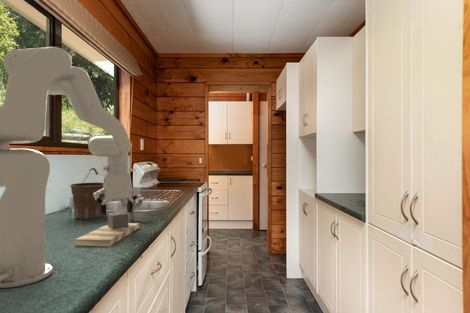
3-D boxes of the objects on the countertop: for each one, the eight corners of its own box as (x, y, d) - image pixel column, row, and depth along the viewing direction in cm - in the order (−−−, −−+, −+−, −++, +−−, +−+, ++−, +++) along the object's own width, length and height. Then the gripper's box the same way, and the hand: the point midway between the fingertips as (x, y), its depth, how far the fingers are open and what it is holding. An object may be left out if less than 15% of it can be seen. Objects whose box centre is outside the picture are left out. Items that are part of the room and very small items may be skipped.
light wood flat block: (109, 246, 96) (109, 229, 96) (74, 245, 97) (74, 228, 97) (139, 228, 120) (139, 214, 120) (111, 227, 121) (111, 214, 121)
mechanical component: (140, 221, 131) (140, 199, 131) (119, 220, 133) (119, 199, 133) (143, 220, 134) (143, 198, 134) (123, 219, 136) (123, 198, 136)
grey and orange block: (128, 226, 114) (128, 213, 114) (112, 229, 110) (112, 215, 110) (122, 223, 118) (122, 211, 118) (107, 226, 115) (107, 212, 115)
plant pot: (109, 218, 138) (108, 184, 138) (70, 222, 130) (69, 186, 130) (105, 212, 152) (105, 181, 152) (70, 215, 145) (70, 183, 144)
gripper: (96, 170, 106) (96, 217, 105) (142, 169, 117) (142, 212, 116) (91, 169, 111) (90, 214, 111) (135, 169, 122) (135, 210, 122)
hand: (117, 213), depth 114 cm, fingers open, 9 cm apart
